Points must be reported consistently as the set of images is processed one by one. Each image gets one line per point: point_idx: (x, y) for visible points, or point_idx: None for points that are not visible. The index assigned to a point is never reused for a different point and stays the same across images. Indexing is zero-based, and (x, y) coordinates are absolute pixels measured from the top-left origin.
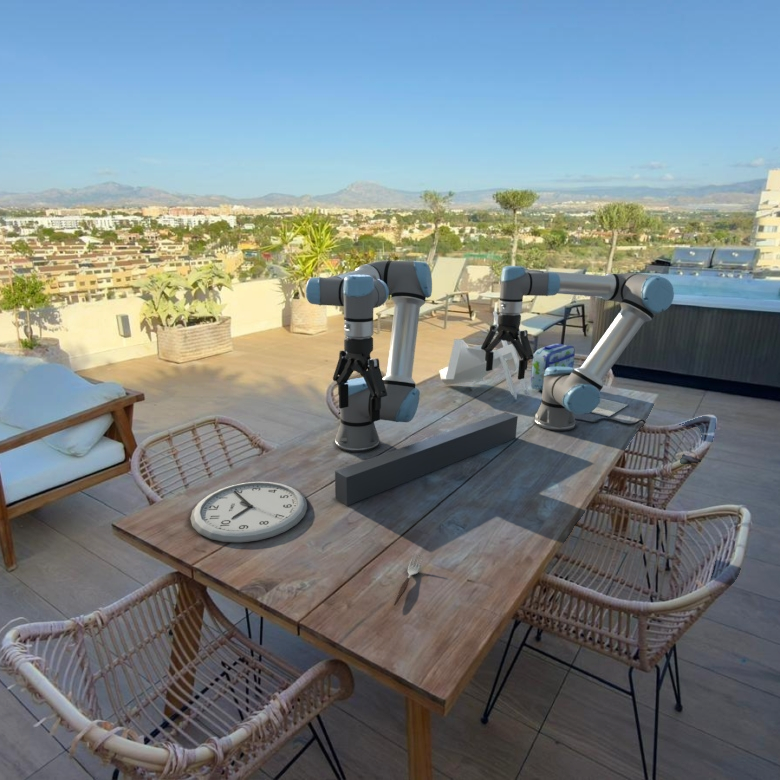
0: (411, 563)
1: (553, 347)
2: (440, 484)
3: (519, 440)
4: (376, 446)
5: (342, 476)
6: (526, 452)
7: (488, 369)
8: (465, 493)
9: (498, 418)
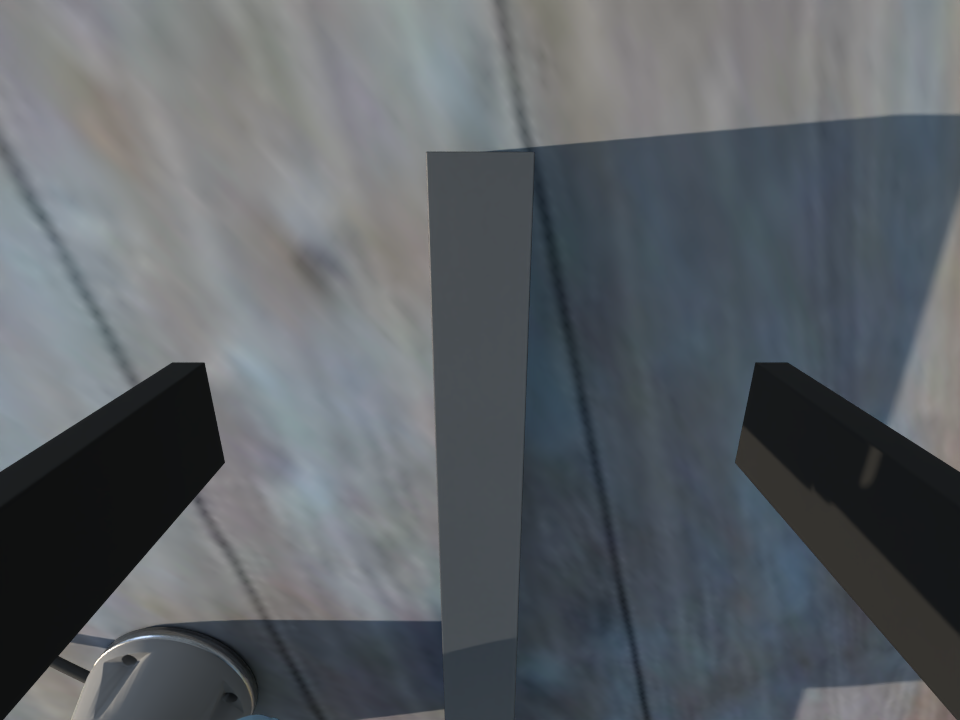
0: None
1: None
2: (583, 677)
3: (554, 166)
4: (245, 667)
5: None
6: (660, 272)
7: (211, 457)
8: (671, 666)
9: (478, 301)
